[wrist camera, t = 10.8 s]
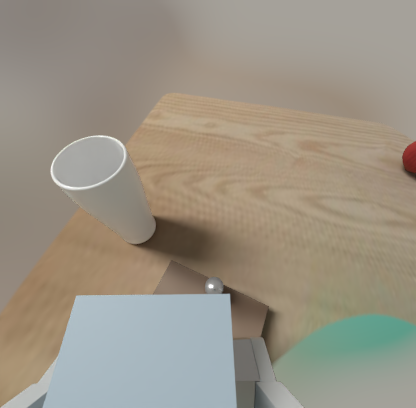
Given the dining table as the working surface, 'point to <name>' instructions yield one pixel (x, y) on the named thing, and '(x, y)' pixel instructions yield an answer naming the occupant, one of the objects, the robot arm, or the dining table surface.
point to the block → (146, 353)
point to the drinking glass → (105, 186)
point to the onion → (410, 158)
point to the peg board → (238, 301)
